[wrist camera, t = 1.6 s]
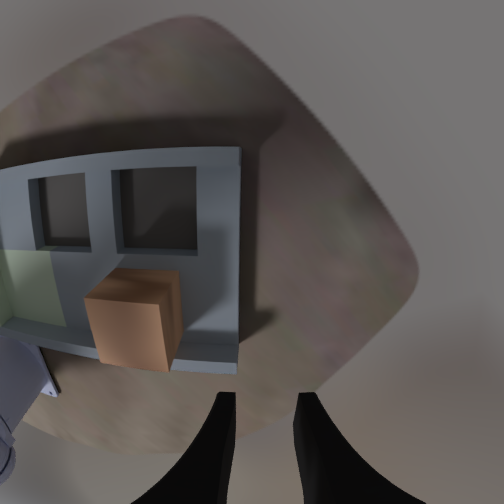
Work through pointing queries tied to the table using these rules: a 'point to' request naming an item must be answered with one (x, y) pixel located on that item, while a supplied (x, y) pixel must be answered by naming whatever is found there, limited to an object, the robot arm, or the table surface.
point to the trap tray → (123, 244)
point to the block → (137, 318)
